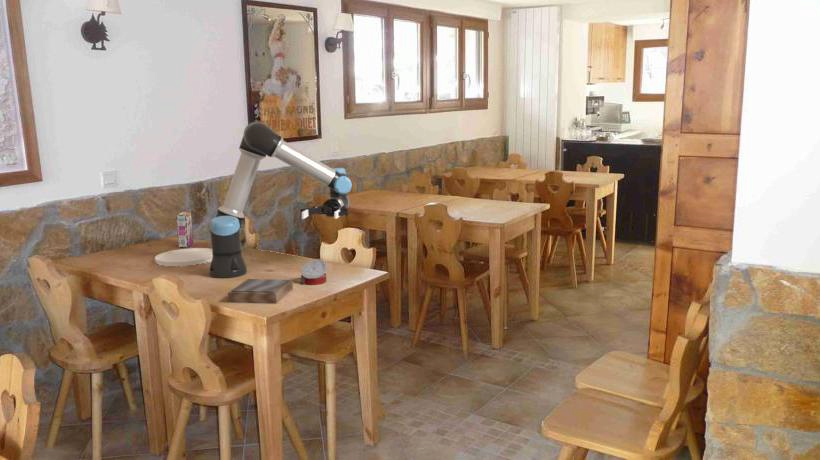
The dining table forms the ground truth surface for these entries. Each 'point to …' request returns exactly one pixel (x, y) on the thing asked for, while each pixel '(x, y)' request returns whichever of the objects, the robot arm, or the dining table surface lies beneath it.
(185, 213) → the candy bar box
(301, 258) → the dining table surface
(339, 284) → the dining table surface
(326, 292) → the dining table surface
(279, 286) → the display podium
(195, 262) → the plate
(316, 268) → the canned food
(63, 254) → the dining table surface
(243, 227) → the coffee box
